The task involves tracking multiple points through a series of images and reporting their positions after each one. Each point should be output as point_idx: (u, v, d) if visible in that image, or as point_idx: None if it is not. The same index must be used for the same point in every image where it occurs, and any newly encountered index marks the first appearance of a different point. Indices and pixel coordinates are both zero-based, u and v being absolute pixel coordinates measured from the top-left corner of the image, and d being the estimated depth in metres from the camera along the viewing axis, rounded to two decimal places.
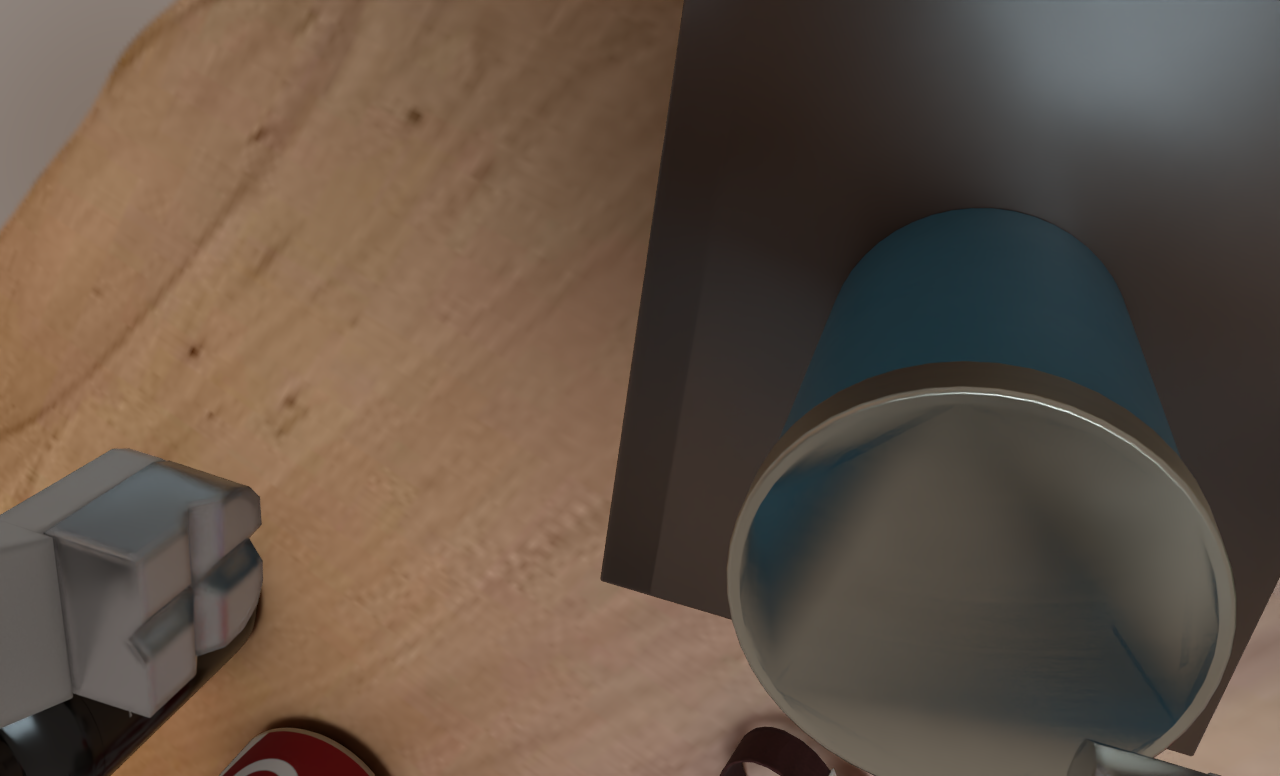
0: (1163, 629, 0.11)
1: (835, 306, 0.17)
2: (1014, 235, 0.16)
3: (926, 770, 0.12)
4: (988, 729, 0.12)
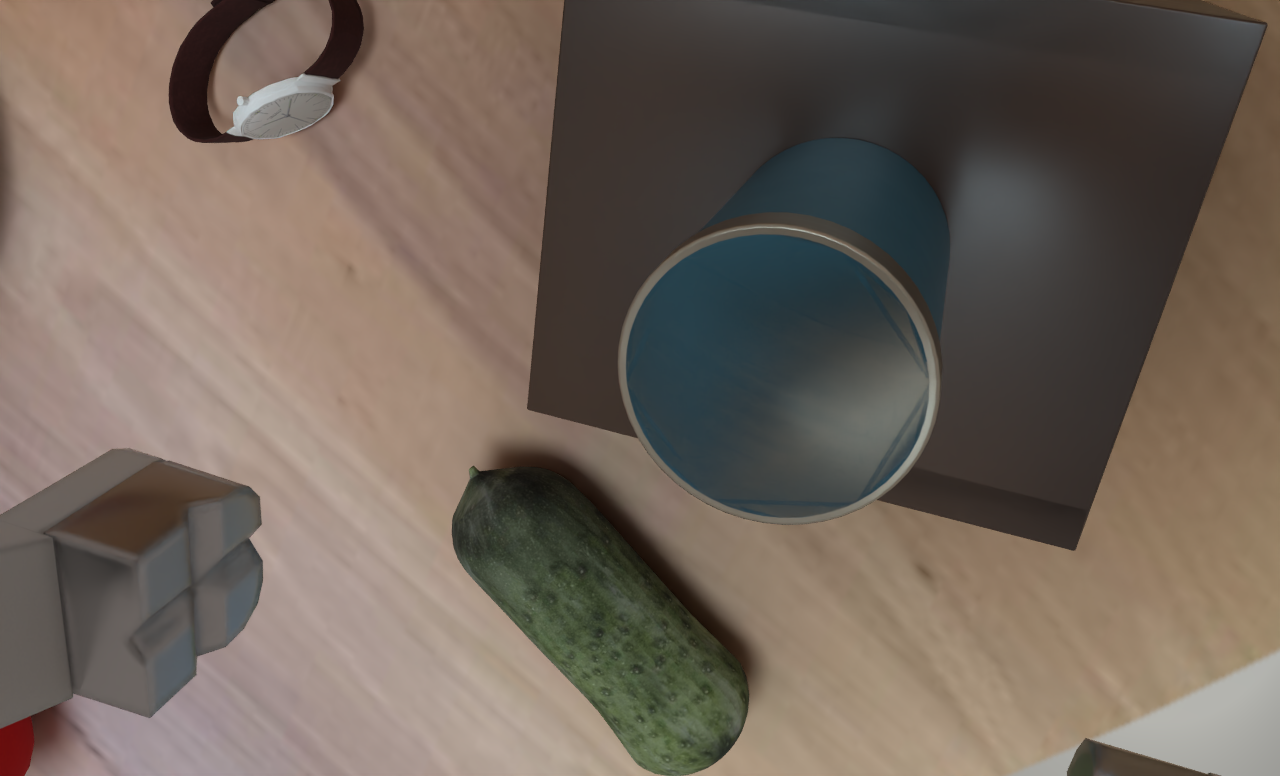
0: (778, 491, 0.18)
1: (887, 166, 0.21)
2: None
3: (638, 360, 0.17)
4: (682, 398, 0.17)
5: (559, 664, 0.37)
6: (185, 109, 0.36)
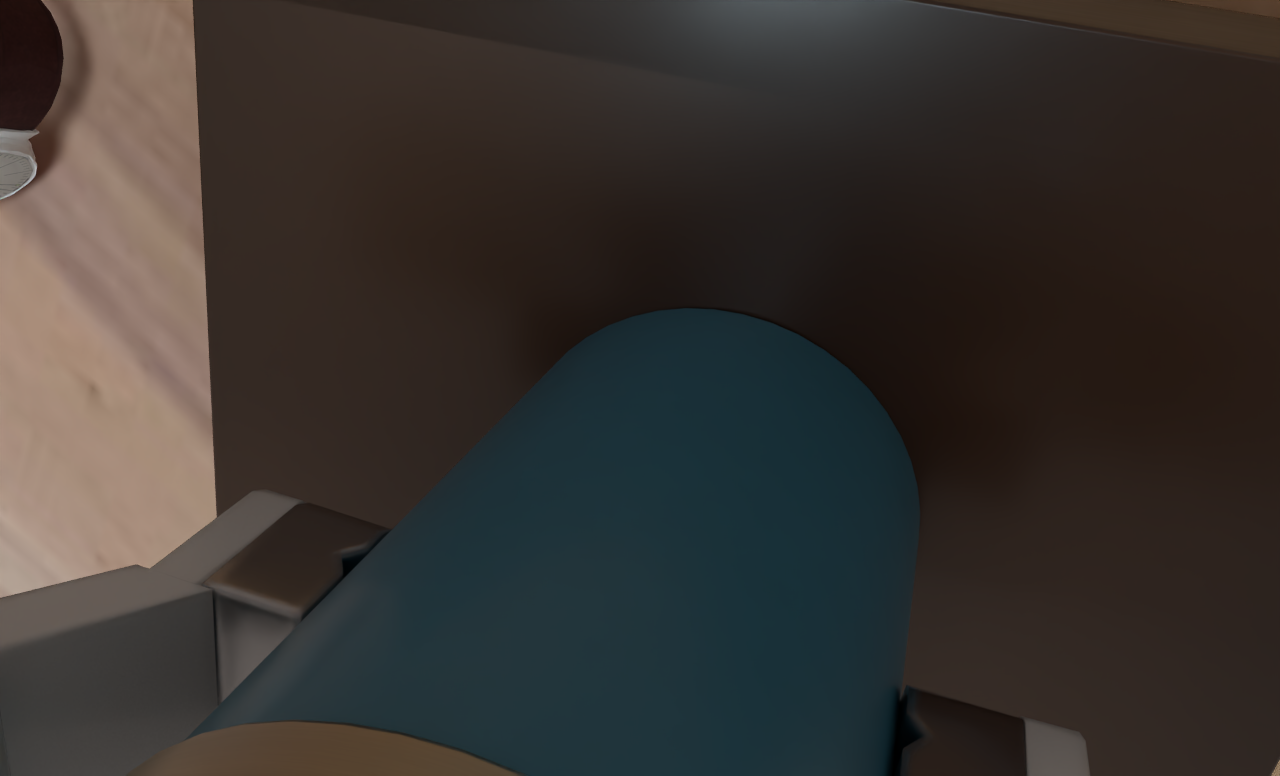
0: None
1: (786, 395, 0.10)
2: None
3: None
4: None
5: None
6: None
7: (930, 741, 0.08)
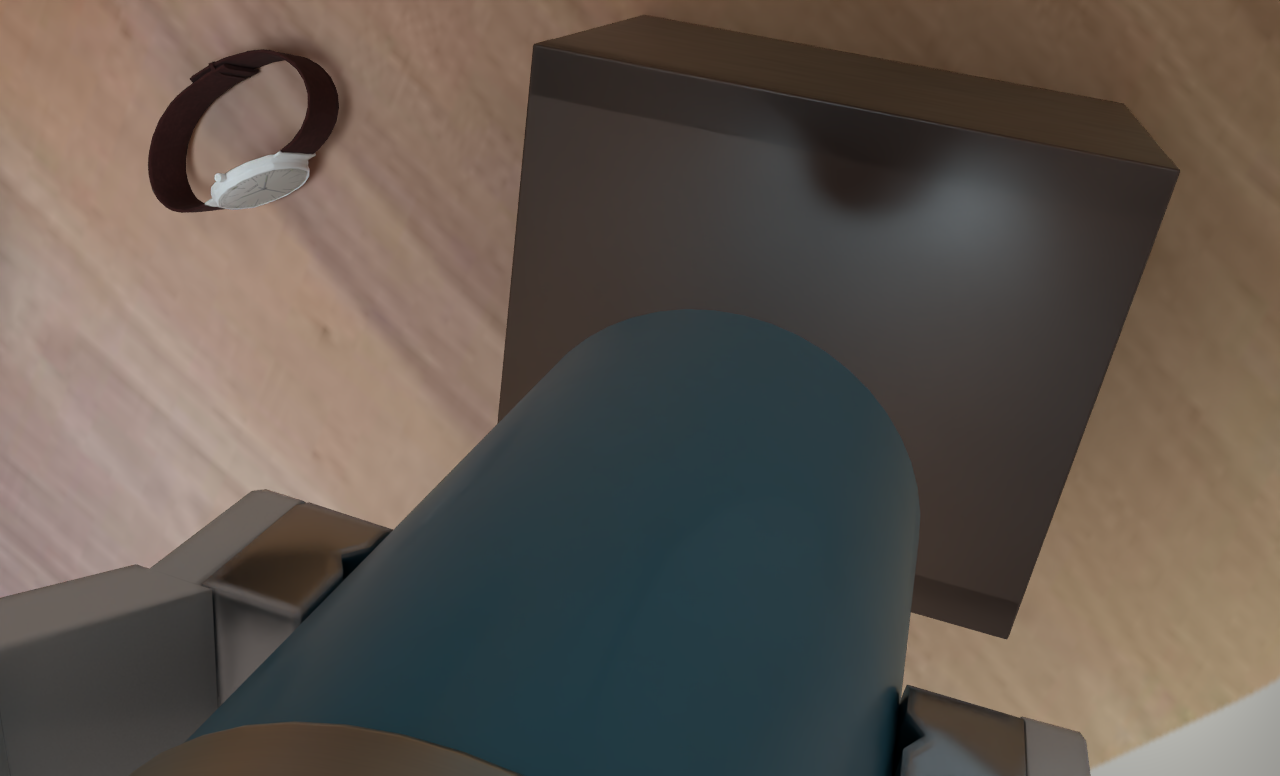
0: None
1: (786, 396, 0.10)
2: None
3: None
4: None
5: None
6: (164, 178, 0.37)
7: (930, 741, 0.08)
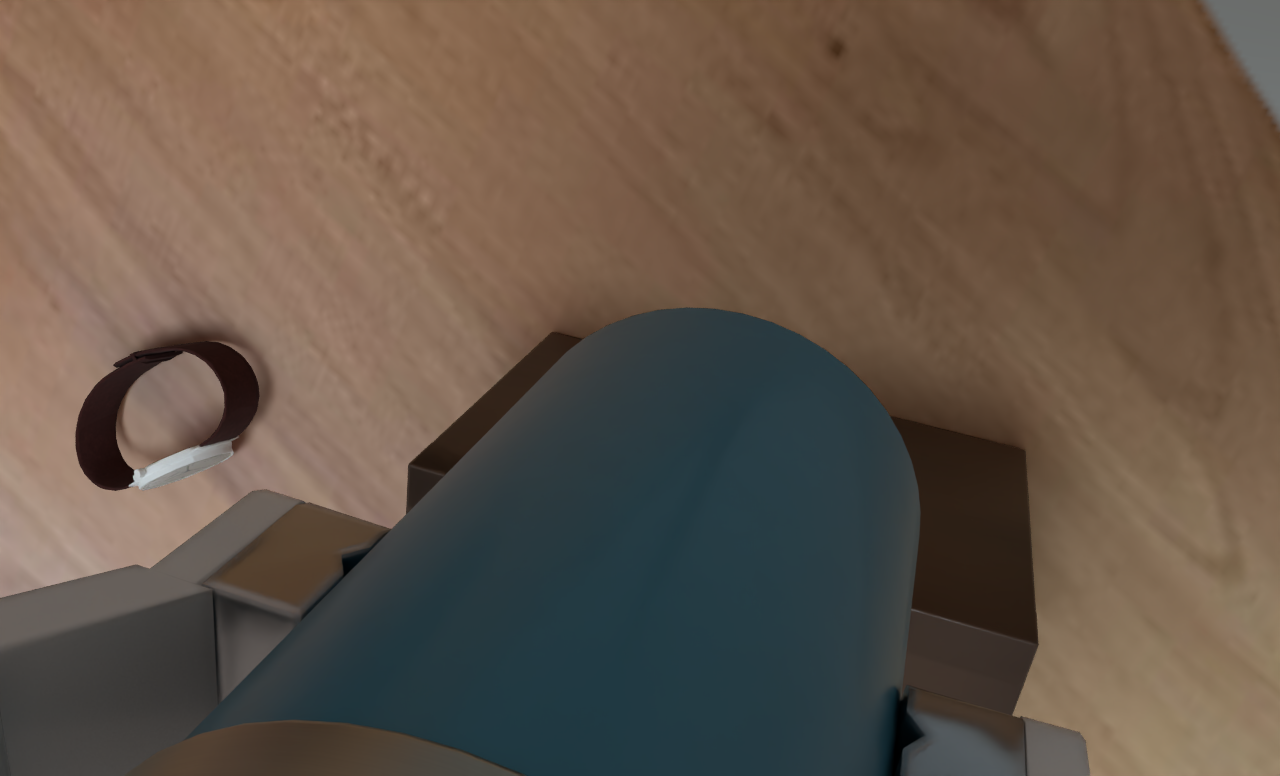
0: None
1: (786, 395, 0.10)
2: None
3: None
4: None
5: None
6: (92, 450, 0.37)
7: (930, 741, 0.08)
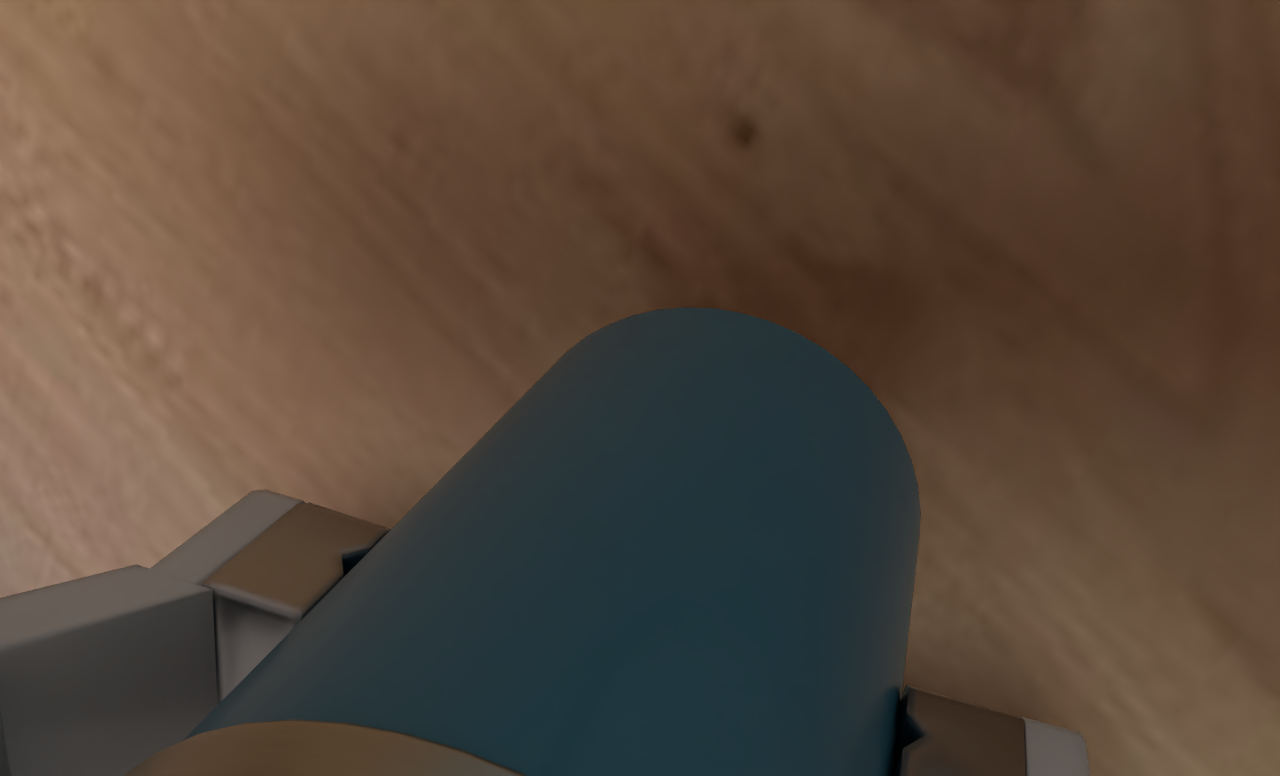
0: None
1: (786, 394, 0.10)
2: None
3: None
4: None
5: None
6: None
7: (930, 741, 0.08)
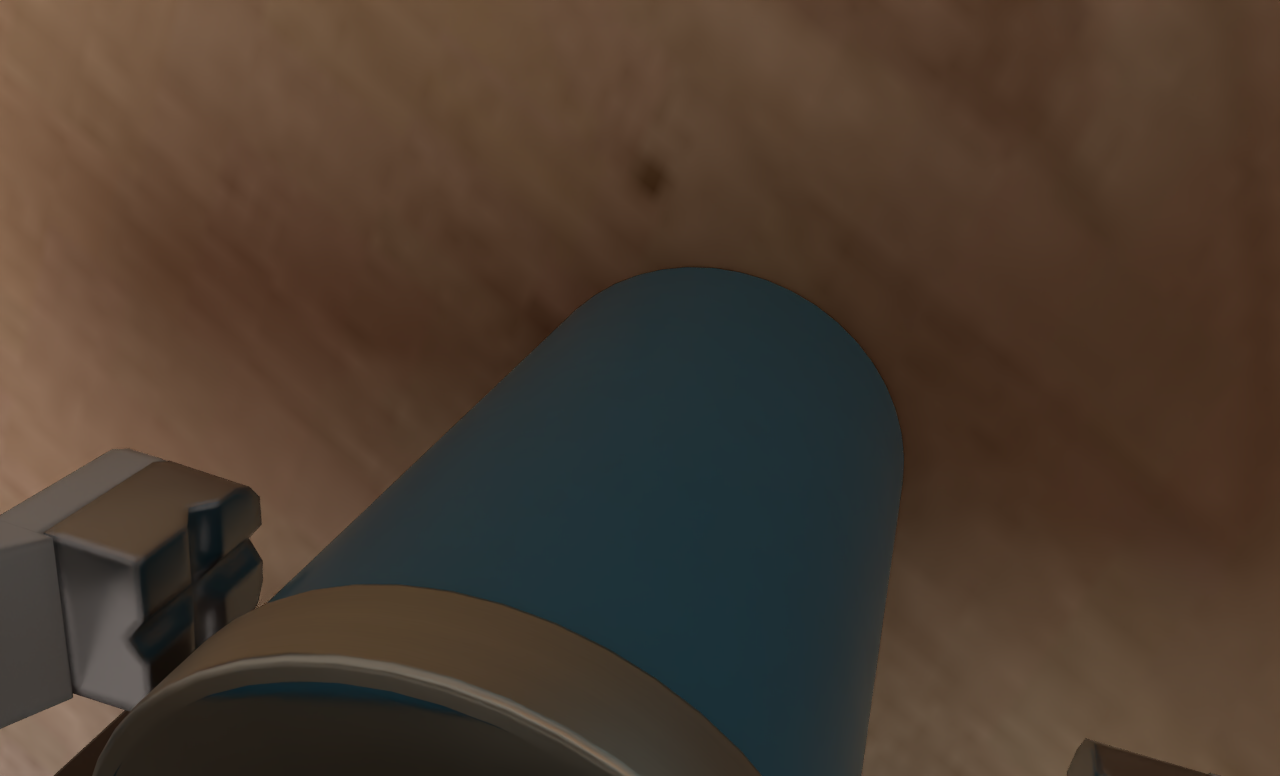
0: None
1: (779, 341, 0.11)
2: None
3: None
4: None
5: None
6: None
7: None
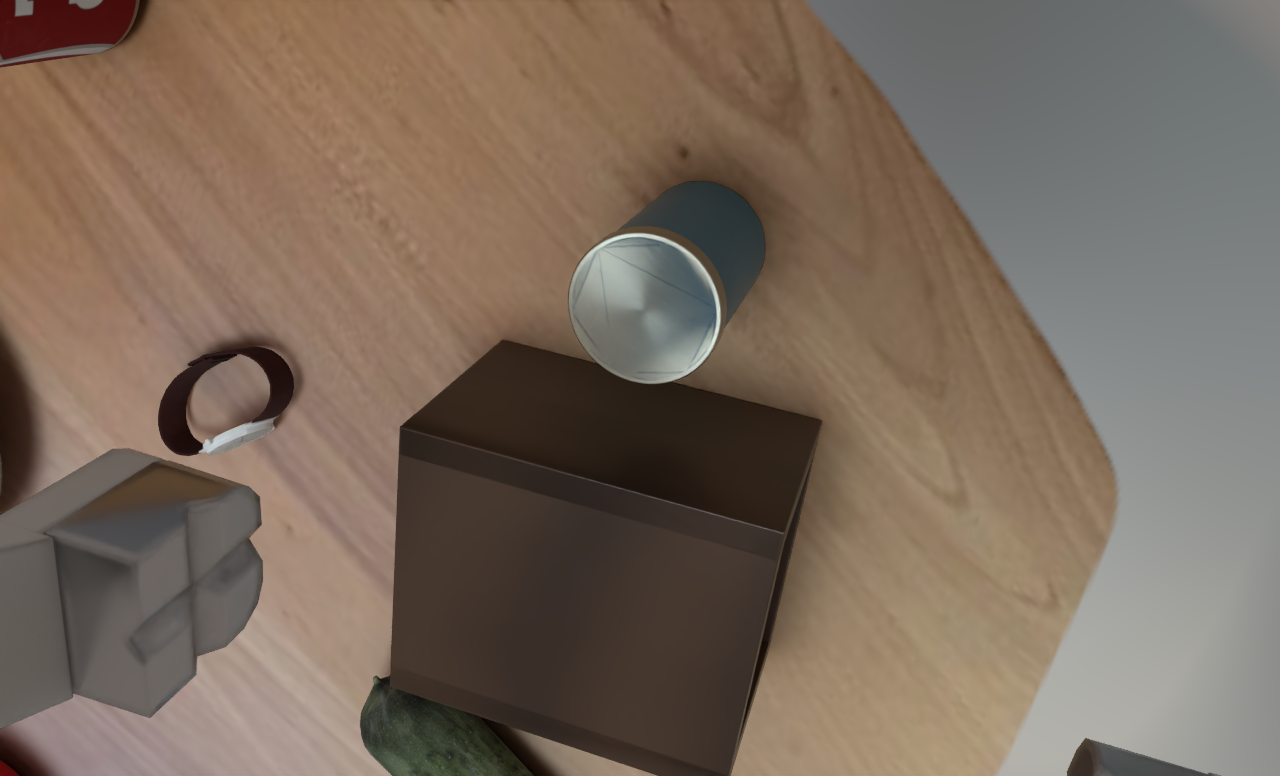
0: (648, 366, 0.35)
1: (722, 199, 0.39)
2: (756, 269, 0.39)
3: (578, 300, 0.35)
4: (600, 319, 0.35)
5: None
6: (170, 427, 0.51)
7: None
